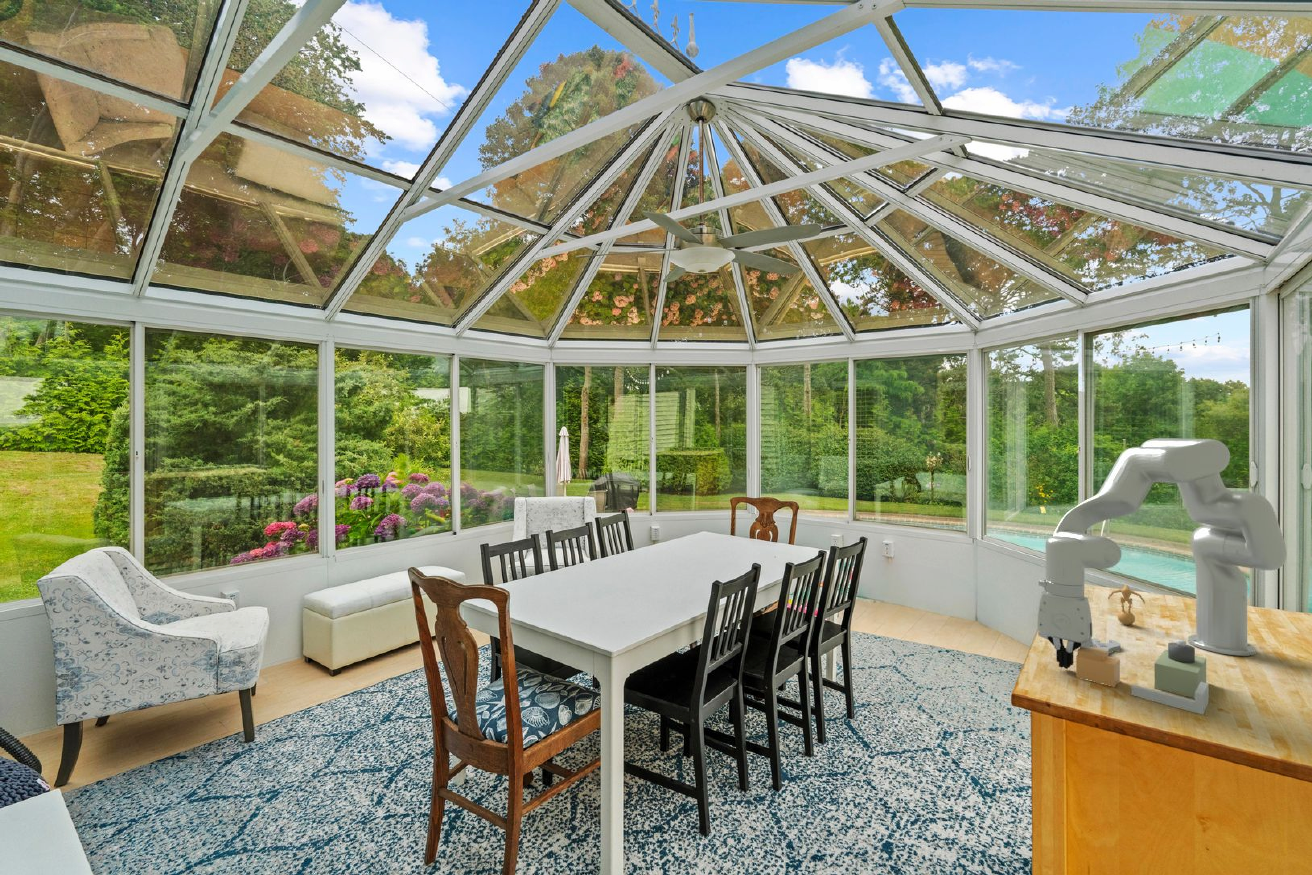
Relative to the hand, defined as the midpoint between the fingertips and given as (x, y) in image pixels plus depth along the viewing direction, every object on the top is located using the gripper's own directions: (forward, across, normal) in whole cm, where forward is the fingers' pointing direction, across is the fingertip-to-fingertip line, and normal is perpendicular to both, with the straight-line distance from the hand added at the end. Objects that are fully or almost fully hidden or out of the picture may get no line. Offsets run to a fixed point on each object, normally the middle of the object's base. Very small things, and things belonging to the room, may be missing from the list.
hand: (1064, 666), depth 136 cm
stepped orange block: (+1, +6, 0) cm, 6 cm away
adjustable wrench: (+2, +3, +16) cm, 17 cm away
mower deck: (+1, +19, +6) cm, 20 cm away
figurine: (+1, +2, +50) cm, 50 cm away
